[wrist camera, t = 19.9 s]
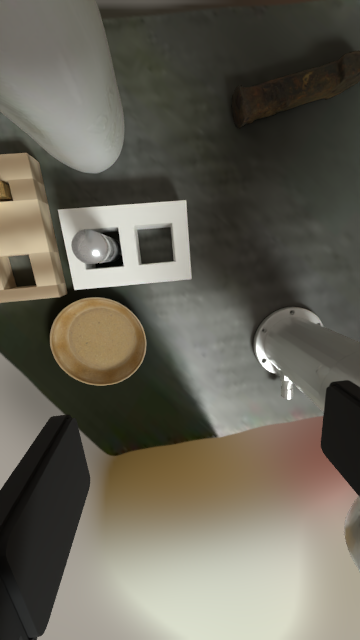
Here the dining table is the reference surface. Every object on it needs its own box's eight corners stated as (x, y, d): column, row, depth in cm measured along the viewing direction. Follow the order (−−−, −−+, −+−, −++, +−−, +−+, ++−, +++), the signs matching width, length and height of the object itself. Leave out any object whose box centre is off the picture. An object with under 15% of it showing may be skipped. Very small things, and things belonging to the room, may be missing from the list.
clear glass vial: (123, 260, 36) (108, 262, 25) (100, 262, 35) (75, 265, 25) (120, 236, 35) (102, 227, 24) (96, 238, 35) (68, 230, 24)
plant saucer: (93, 392, 41) (89, 401, 39) (37, 326, 38) (28, 330, 35) (163, 350, 40) (163, 356, 38) (113, 277, 36) (109, 278, 34)
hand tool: (233, 134, 33) (245, 115, 28) (228, 100, 32) (239, 75, 27) (361, 102, 33) (393, 78, 29) (360, 67, 32) (393, 37, 27)
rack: (187, 276, 37) (191, 279, 32) (85, 285, 36) (74, 290, 31) (182, 208, 34) (186, 200, 30) (72, 216, 34) (57, 209, 29)
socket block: (67, 293, 36) (59, 297, 33) (1, 300, 36) (-13, 303, 33) (39, 162, 31) (26, 152, 29) (-39, 167, 31) (-59, 158, 28)
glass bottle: (50, 92, 30) (-1051, -1555, 3) (131, 104, 31) (-73, -1000, 4) (55, 179, 32) (-487, -221, 5) (130, 187, 33) (0, -111, 6)
